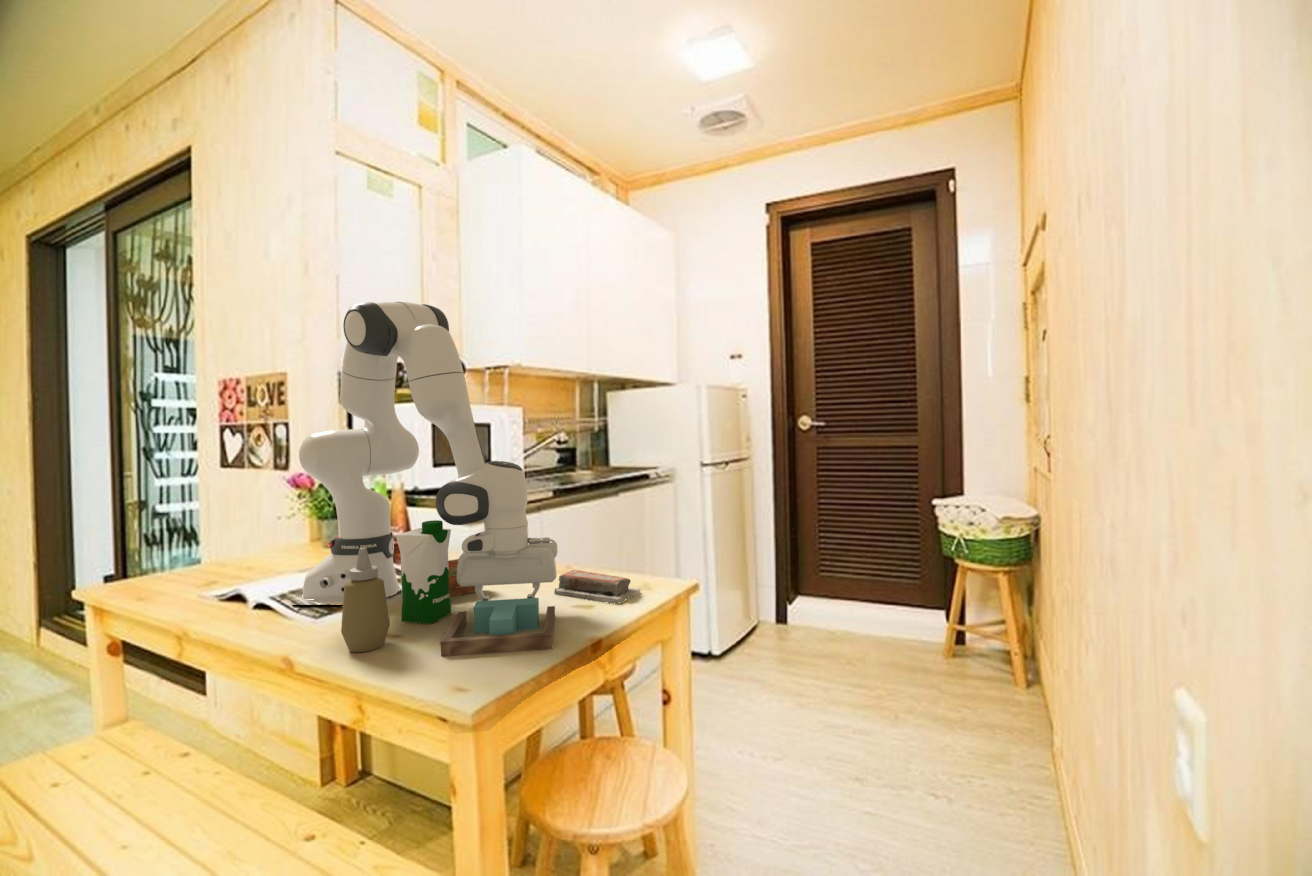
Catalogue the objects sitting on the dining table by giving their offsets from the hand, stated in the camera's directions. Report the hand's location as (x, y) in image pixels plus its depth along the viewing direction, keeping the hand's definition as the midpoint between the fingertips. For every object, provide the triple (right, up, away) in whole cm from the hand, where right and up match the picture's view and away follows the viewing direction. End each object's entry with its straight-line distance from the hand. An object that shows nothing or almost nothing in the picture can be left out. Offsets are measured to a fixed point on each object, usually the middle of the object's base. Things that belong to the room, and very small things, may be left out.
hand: (508, 604), depth 128 cm
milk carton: (-17, -3, -1) cm, 17 cm away
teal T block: (+2, -2, -12) cm, 13 cm away
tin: (-17, -2, +15) cm, 23 cm away
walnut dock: (+2, -2, -12) cm, 12 cm away
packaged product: (+17, -2, +14) cm, 22 cm away
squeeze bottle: (-22, -3, -17) cm, 28 cm away
